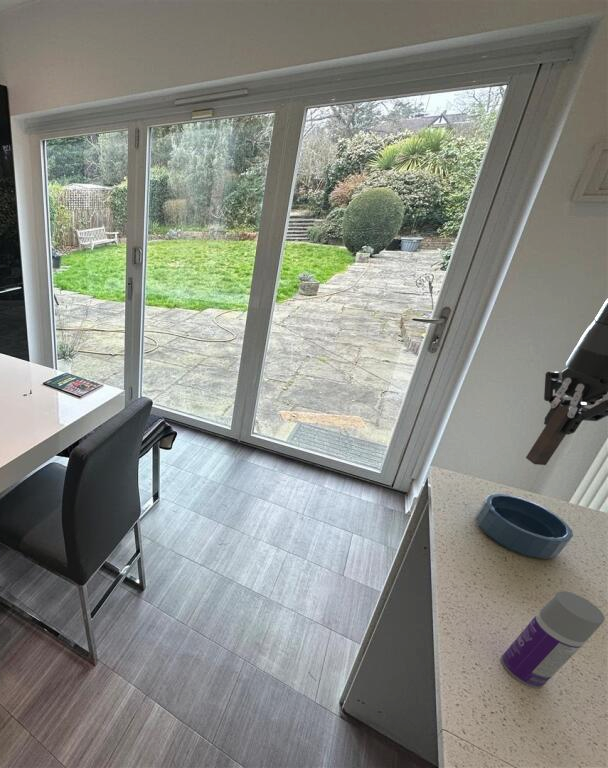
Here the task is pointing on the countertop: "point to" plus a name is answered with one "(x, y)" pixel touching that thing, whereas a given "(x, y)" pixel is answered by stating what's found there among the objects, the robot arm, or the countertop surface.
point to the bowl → (523, 526)
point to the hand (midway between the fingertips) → (556, 429)
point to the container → (551, 638)
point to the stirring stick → (548, 438)
